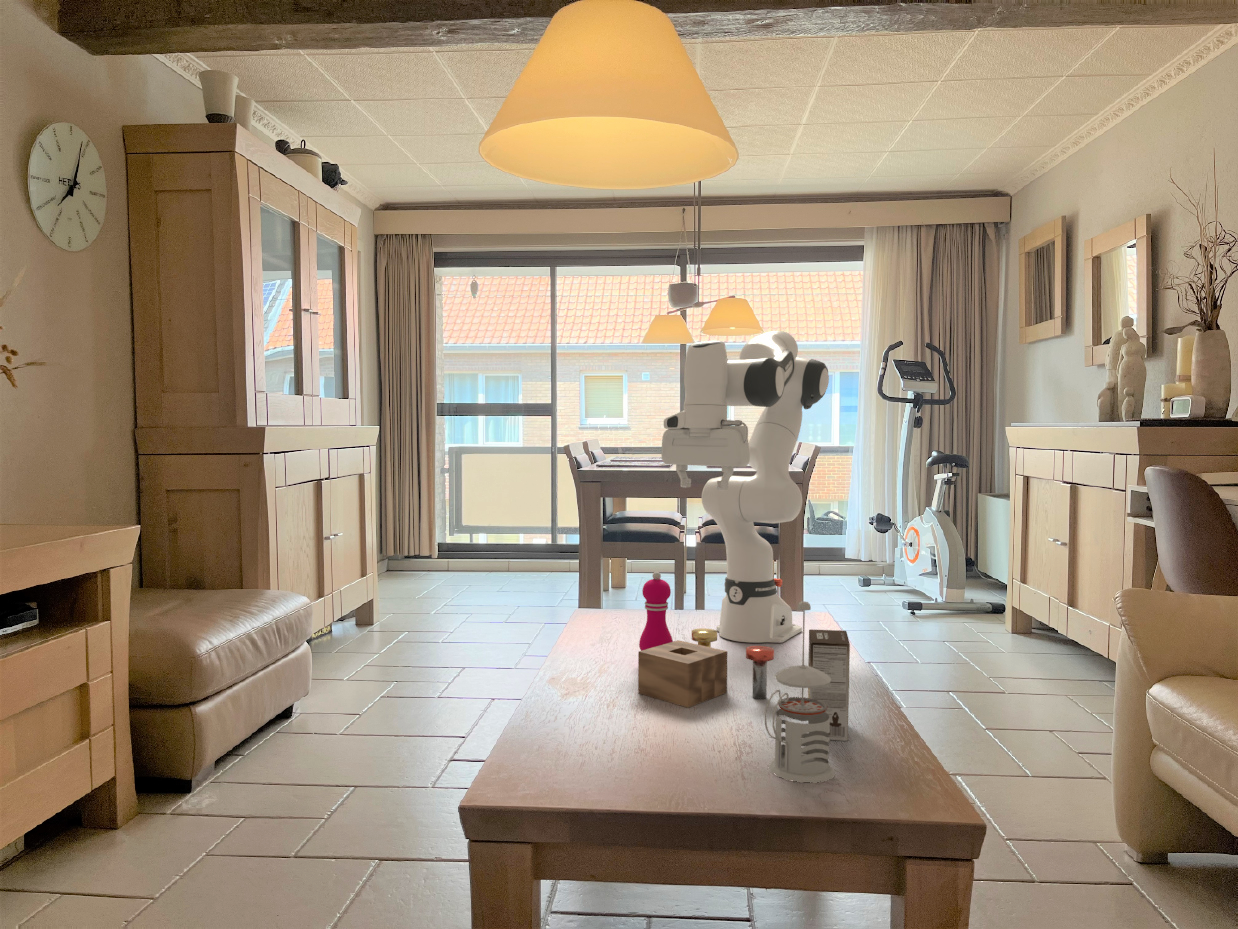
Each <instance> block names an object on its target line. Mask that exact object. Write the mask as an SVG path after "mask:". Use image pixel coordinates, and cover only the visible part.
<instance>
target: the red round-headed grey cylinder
mask: <svg viewBox="0 0 1238 929" xmlns="http://www.w3.org/2000/svg"><path fill="white" fill-rule="evenodd" d="M745 659H747V660H749V661H752V694H751V695H752V696H751V697H752V699H755V700H766V699H767V697H768V696H767V689H768V688H767V687H768V686H767V683H768V682H767V681H768V680H767V679H768V671H767V670H768V662H771V661H774V660H775V649H774V648H773V647H770V646H764V645H748V646H747V647H746V648H745Z"/></svg>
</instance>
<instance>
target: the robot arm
mask: <svg viewBox="0 0 1238 929" xmlns="http://www.w3.org/2000/svg"><path fill="white" fill-rule="evenodd" d="M798 353H799V348H798V343H797V341H796V339H795V337H794V336H793V335H791V334H790V333H788V332H786V331H785V330H784V331H783V330H771V331H767V332H764V333H761V334H758V335H756V336H754V337H753V338H751V339H750V340H749V341H747V342H746V343H745V344H744V345H743V347H742V349H741V350H740V354H739V359H736V360H735V359H733V360H732V359H730V360H729V359H728V355H727V348H726V343H725V342H723V341H721V340H704V341H696V342H693V343H691V344H689V345H688V347H687V352H686V354H685V355H686V356H685V363H684V373H683V374H684V375H683V386H684V389H685V398H684V402H683V410H682V411H680V412H677V413H675V414H673V415H670V416H667V417H666V418H664V419H663V428H664V429H666V430H665V431H664V432H663V434H662V438H661V439H662V440H661V460H662V461H663V463H664V464H665V465H672V466H673V465H674V466H675V470H676V473H677V475H678V477H679V479H680V482H679V483H680V488H691V487H692V478H689V477H688V474H687V471H688V470H689V469H688V468H689V467H688V466H701V467H702V466H703V467H721V473H723V474H722V476H718V477H712V478H709V480H707V482H706V483H705V485H704V486H703V489H702V492H701V504H702V507H703V509H704V511H705V512H706V514H707V515H709V516H710V517H711V518H712V519H713V520H714V522H715V523H716V524H717V526H718V528H719V529H720V531H721V535H722V537H723V540H724V544H725V551H726V553H725V554H726V577H725V578H724V585H723V586H724V593H725V595H724V597H723V598H722V599H721V608H720V617H719V618H720V620H719V624H718V625H716V629H715V630H716V631H717V632H718V633H719V634H718V635H719V636H720V637H721V638H723V639H726V640H731V641H734V642H739V643H740V642H741V643H754V644H755V643H757V644H758V643H780V644H781V643H784V642H786V641H788V640H790V639H792V637H794V636H796V635H798V634H799V633H801V632H803V626H800V625H797V624H794V623H793V611H792V608H791V606H790V605H789V604H787V602H785V600H784V599H782V597H780V595H779V594H778V590H777V587H778V588H781V587H782V586H783V584H784V583H783V579H782V578H776V577H774V575H773V574H774V571H773V570H774V569H773V568H774V549H773V547H772V545H771V544H770V542H769V541H767V539H765V538H764V537H762V536H761V535H759V533H758V532H757V530H756V527H755V523H765V524H781V523H786V522H792V521H793V520H795V519H796V518H797V517H798V515H799V514H800V512H801V510H802V508H803V495H802V492H801V489H800V487H799V486H798V484H796V482H795V481H794V480H793V479H792V478H791V476H790V473H789V472H790V471H789V467H790V464H791V460H792V459H791V458H792V456H793V452H794V450H795V447H796V444H797V442H798V439H799V436H800V432H801V427H802V421H803V409H804V410H809V409H811V408H812V406H813V405H815V404H816V403H818V402H820V400H822V398H823V397H824V396H825V395H826V391H827V389H828V386H829V382H830V376H829V370H828V367H827V365H826V364H825V363H824V362H823V361H820V360H817V359H814V358H811V359H808V358H804V357H798ZM728 407H759V408H760V407H761V408H762V407H763V408H764V409H763V411H762V413H761V415H760V416H759V418H758V420H757V421H756V424H755V427H754V429H753V431H752V433H751V436H750V439H749V438H748V437H749V427H748V426H747V424H746V423H745V422H743V421H742V420H740V419H736V420H732V419H728ZM748 465H749V466H750V467H751V468H752V469H753V470H755V471H756V472H755V474H754V475H750V476H746V475H733V474H734V471H735V470H734V468H746V467H748Z"/></svg>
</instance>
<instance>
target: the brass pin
mask: <svg viewBox="0 0 1238 929" xmlns="http://www.w3.org/2000/svg"><path fill="white" fill-rule="evenodd" d="M691 640H692V641H693V642H697V645H702V646H706V647H711V648H712V646H711V645H712V644H711V643H713V642H717V640H718V631H717V630H716V629H712V628H705V627H704V628H703V627H702V628H693V629H692V630H691Z"/></svg>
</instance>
